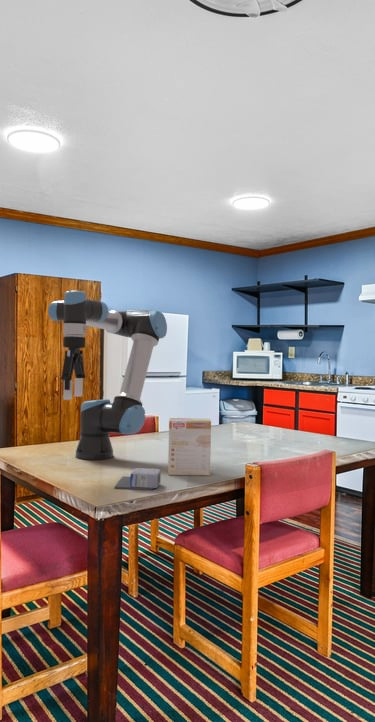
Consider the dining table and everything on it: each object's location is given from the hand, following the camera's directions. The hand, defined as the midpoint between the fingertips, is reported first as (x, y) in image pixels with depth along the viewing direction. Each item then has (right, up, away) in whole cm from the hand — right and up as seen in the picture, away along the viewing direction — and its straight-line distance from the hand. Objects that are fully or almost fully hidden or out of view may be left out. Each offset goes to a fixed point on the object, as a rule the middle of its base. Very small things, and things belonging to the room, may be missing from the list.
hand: (73, 398), depth 181 cm
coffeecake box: (+40, -28, +8) cm, 49 cm away
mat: (+23, -27, -9) cm, 37 cm away
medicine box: (+30, -25, -13) cm, 41 cm away
